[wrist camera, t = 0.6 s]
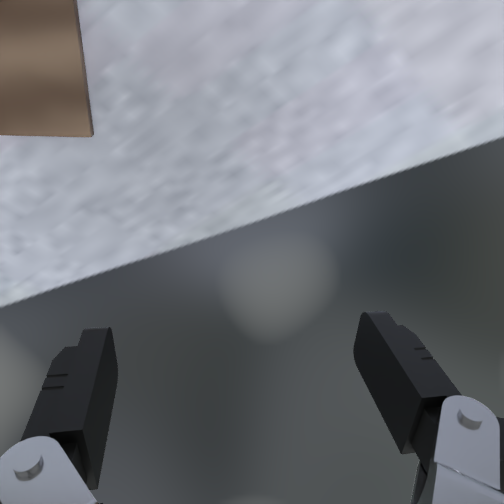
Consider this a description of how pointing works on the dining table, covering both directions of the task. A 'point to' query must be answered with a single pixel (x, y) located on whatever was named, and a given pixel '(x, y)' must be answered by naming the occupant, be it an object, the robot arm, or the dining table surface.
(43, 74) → the shaft stand
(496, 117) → the dining table surface
